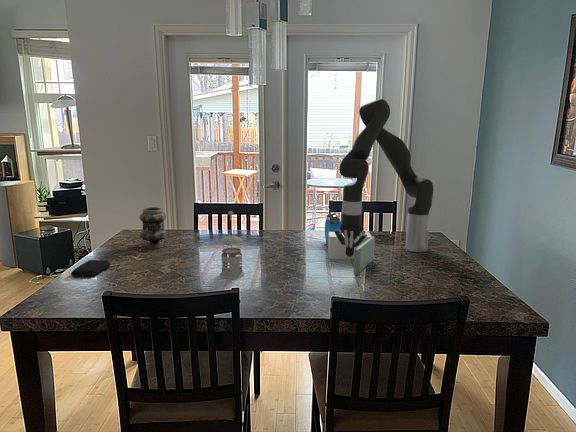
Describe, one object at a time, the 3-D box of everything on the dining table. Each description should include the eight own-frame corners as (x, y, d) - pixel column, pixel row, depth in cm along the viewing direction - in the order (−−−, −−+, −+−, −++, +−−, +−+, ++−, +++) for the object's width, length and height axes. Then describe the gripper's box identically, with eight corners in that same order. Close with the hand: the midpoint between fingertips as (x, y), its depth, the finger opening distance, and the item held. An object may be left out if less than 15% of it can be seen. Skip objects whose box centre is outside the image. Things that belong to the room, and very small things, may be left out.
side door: (371, 258, 182) (372, 236, 180) (373, 259, 181) (374, 236, 179) (353, 274, 163) (354, 249, 161) (356, 275, 162) (357, 250, 160)
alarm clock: (341, 248, 198) (342, 217, 195) (328, 248, 198) (329, 217, 194) (336, 240, 211) (337, 211, 207) (323, 240, 210) (324, 211, 207)
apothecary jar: (173, 244, 202) (171, 207, 198) (152, 251, 192) (150, 212, 188) (155, 240, 208) (153, 204, 204) (135, 246, 198) (132, 209, 194)
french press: (224, 280, 157) (222, 214, 152) (214, 271, 167) (212, 208, 162) (248, 276, 162) (247, 212, 156) (237, 267, 172) (236, 206, 166)
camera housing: (368, 253, 190) (369, 229, 187) (371, 259, 182) (372, 233, 180) (327, 253, 191) (328, 228, 188) (329, 258, 183) (329, 233, 180)
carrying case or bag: (96, 279, 158) (114, 266, 173) (96, 271, 158) (114, 259, 172) (69, 278, 159) (89, 265, 173) (68, 271, 158) (88, 258, 173)
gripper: (372, 212, 160) (369, 256, 164) (339, 208, 167) (337, 250, 170) (364, 216, 154) (362, 261, 158) (331, 211, 160) (329, 255, 164)
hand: (349, 256), depth 164 cm, fingers closed
